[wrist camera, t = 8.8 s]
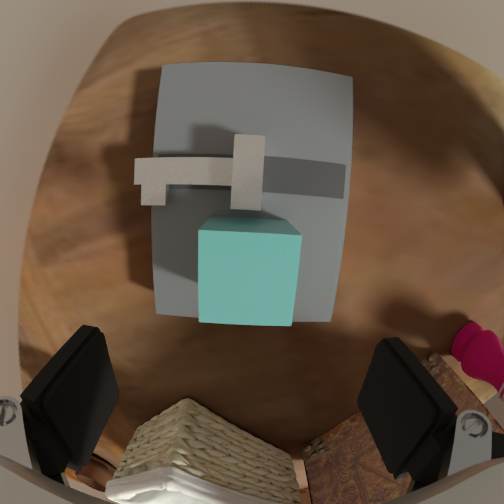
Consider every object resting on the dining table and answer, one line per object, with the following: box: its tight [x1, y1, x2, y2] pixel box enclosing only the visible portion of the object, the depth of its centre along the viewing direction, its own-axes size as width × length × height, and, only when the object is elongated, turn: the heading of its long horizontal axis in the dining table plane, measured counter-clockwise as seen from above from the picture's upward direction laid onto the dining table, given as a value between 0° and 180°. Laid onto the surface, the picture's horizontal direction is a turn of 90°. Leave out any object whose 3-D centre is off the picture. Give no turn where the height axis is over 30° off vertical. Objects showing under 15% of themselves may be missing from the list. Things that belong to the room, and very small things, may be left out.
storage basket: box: [105, 398, 302, 504], centre depth 27 cm, size 24×16×15 cm
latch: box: [134, 134, 265, 211], centre depth 19 cm, size 10×5×3 cm, turn 87°
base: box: [151, 62, 353, 322], centre depth 23 cm, size 16×22×4 cm
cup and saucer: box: [75, 456, 116, 492], centre depth 35 cm, size 12×12×6 cm
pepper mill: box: [451, 322, 504, 402], centre depth 21 cm, size 7×7×20 cm
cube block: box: [198, 216, 302, 326], centre depth 19 cm, size 6×6×6 cm
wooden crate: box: [301, 351, 504, 504], centre depth 19 cm, size 25×9×30 cm, turn 133°
